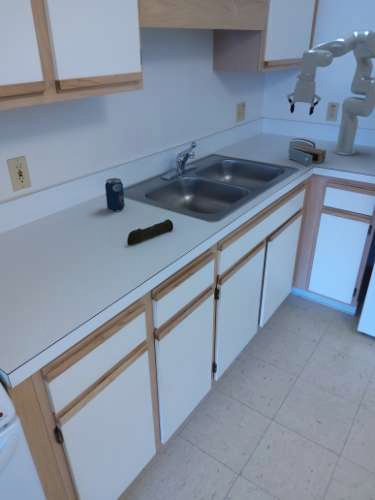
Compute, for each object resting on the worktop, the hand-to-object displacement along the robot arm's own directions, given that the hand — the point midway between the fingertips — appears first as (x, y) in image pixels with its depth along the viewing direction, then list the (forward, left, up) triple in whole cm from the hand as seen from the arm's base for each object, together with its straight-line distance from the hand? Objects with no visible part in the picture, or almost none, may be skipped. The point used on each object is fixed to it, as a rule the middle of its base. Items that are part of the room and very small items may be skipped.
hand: (301, 113), depth 202 cm
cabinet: (-12, +3, -26) cm, 29 cm away
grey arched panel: (-25, -6, -27) cm, 37 cm away
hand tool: (+115, -2, -27) cm, 118 cm away
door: (-3, +1, -26) cm, 26 cm away
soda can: (+105, -30, -27) cm, 113 cm away
